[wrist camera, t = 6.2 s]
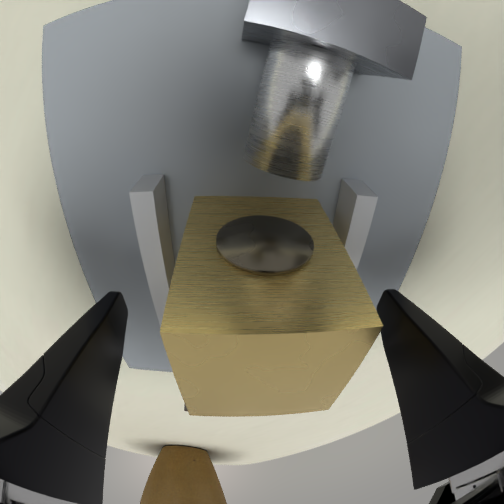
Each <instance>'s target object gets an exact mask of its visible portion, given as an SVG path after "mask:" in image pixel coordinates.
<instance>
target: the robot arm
mask: <svg viewBox="0 0 504 504" xmlns="http://www.w3.org/2000/svg"><path fill="white" fill-rule="evenodd" d="M376 310H377V313H378V315H379V318H380V320H381V322H382V324H383V328H382V329H381V336H382V341H383V345H384V350H385V353H386V357H387V360H388V364H389V367H390V371H391V375H392V378H393V382H394V386H395V390H396V394H397V398H398V402H399V407H400V411H401V416H402V420H403V425H404V430H405V435H406V440H407V446H408V452H409V458H410V465H411V471H412V478H413V486H414V489H419V488H422V487H425V486H428V485H431V484H433V483H436V482H439V481H442V480H444V479H447V478H449V482H447V483H445V484H444V485H442V486H440V487H438V488H437V489H436V491H435V493H434V495H433V497H432V499H431V501H430V503H429V504H504V377H503V376H502V375H500V374H499V373H498V372H497V371H495V370H494V369H493V368H492V367H490V366H489V365H488V364H486V363H485V362H484V361H483V360H481V359H480V358H479V357H477V356H476V355H475V354H474V353H473V352H472V351H470V350H469V349H468V348H467V347H466V346H465V345H463V344H462V343H461V342H460V341H459V340H458V339H456V338H455V337H454V336H453V335H452V334H450V333H449V332H448V331H447V330H446V329H444V328H443V327H442V326H441V325H440V324H438V323H437V322H436V321H435V320H434V319H432V318H431V317H430V316H429V315H427V314H426V313H425V312H424V311H422V310H421V309H420V308H419V307H417V306H416V305H415V304H414V303H412V302H411V301H410V300H409V299H407V298H406V297H405V296H403V295H402V294H401V293H400V292H398V291H397V290H395V289H386V290H384V291H383V293H382V296H381V298H380V300H379V302H378V304H377V309H376ZM127 319H128V308H127V305H126V303H125V300H124V297H123V294H122V293H121V292H119V291H110V292H108V293H107V294H106V295H105V296H104V297H103V298H101V299H100V300H99V301H98V302H97V303H96V304H95V305H94V306H93V307H92V308H91V309H89V310H88V311H87V312H86V313H85V314H84V315H83V316H82V317H81V318H80V319H79V320H78V321H77V322H76V323H75V324H74V325H72V326H71V327H70V328H69V329H68V330H67V331H66V332H65V333H64V334H63V335H62V336H61V337H60V338H59V339H58V340H57V341H56V342H55V343H54V344H53V345H52V346H51V347H50V348H49V349H48V350H47V351H46V352H45V353H44V356H43V355H42V356H41V357H40V358H39V359H38V360H37V361H36V362H35V363H34V364H33V365H32V366H31V367H30V368H29V369H28V370H27V371H26V372H25V373H24V374H23V375H22V376H21V377H20V378H19V379H18V380H17V381H16V382H14V383H13V384H12V385H11V386H10V387H9V388H8V389H7V390H6V391H5V392H3V393H2V394H1V395H0V504H102V500H103V483H104V470H105V457H106V448H107V440H108V433H109V426H110V419H111V413H112V406H113V401H114V395H115V390H116V385H117V379H118V375H119V370H120V365H121V361H122V356H123V349H124V341H125V333H126V326H127Z"/></svg>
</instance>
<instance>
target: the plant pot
mask: <svg viewBox="0 0 504 504" xmlns="http://www.w3.org/2000/svg"><path fill="white" fill-rule="evenodd" d="M140 504H227V503H226V500H225V497H224V494H223V491H222V488H221V485H220V482H219V480H218V477H217V474H216V472H215V469H214V467H213V464H212V462H211V460H210V457H209V455H208V453H207V451H205V450H202V449H198V448H193V447H186V446H164V447H163V448H162V450H161V452H160V454H159V456H158V457H157V459H156V462H155V464H154V466H153V468H152V470H151V473H150V475H149V477H148V481H147V483H146V486H145V489H144V491H143V495H142V498H141V502H140Z"/></svg>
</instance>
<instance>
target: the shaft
mask: <svg viewBox="0 0 504 504" xmlns="http://www.w3.org/2000/svg"><path fill="white" fill-rule="evenodd" d="M425 23H426V16H424V15H423V14H421V13H419V12H418V11H416V10H415V9H413V8H411V7H410V6H408V5H406V4H405V3H403V2H401V1H399V0H250V1H249V5H248V9H247V12H246V16H245V19H244V25H243V32H242V39H241V41H247V42H252V43H257V44H262V45H266V46H270V47H269V51H268V55H267V59H266V63H265V67H264V71H263V75H262V79H261V83H260V87H259V91H258V95H257V99H256V103H255V107H254V112H253V116H252V120H251V124H250V129H249V133H248V137H247V142H246V146H245V151H244V155H243V158H244V159H245V161H247V162H248V163H249V164H251V165H252V166H254V167H256V168H258V169H260V170H263V171H265V172H268V173H271V174H274V175H277V176H281V177H284V178H289V179H294V180H300V181H317V180H319V179H320V178H321V176H322V173H323V170H324V167H325V164H326V161H327V158H328V154H329V151H330V148H331V145H332V142H333V139H334V136H335V133H336V129H337V126H338V123H339V120H340V116H341V113H342V110H343V107H344V103H345V100H346V96H347V93H348V90H349V86H350V83H351V79H352V76H353V72H354V73H356V74H359V75H370V76H381V77H390V78H398V79H405V80H412V78H413V74H414V70H415V67H416V63H417V59H418V55H419V50H420V46H421V42H422V37H423V33H424V28H425Z"/></svg>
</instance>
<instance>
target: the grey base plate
mask: <svg viewBox="0 0 504 504" xmlns="http://www.w3.org/2000/svg"><path fill="white" fill-rule="evenodd" d="M249 1H250V0H112V1H108V2H105V3H102V4H98V5H95V6H92V7H89V8H86V9H83V10H80V11H78V12H75V13H72V14H70V15H67V16H64V17H62V18H60V19H57V20H55V21H53V22H50V23H48V24H46V25H44V26H43V42H42V84H43V101H44V112H45V121H46V130H47V137H48V143H49V150H50V155H51V161H52V166H53V171H54V176H55V180H56V185H57V189H58V193H59V197H60V201H61V205H62V209H63V212H64V216H65V219H66V223H67V226H68V229H69V232H70V235H71V239H72V242H73V245H74V248H75V250H76V253H77V256H78V259H79V262H80V264H81V267H82V270H83V272H84V275H85V277H86V280H87V282H88V285H89V287H90V290H91V292H92V294H93V297H94V299H95V301H96V303H97V302H98V301H99V300H100V299H101V298H103V297H104V296H105V295H106V294H107V293H108V292H110V291H119V292H121V293H122V294H123V297H124V300H125V303H126V305H127V308H128V319H127V326H126V333H125V341H124V349H123V358H124V359H125V361H126V363H127V365H128V366H129V368H134V369H144V370H154V371H167V372H173V371H172V368H171V365H170V362H169V359H168V356H167V353H166V350H165V347H164V344H163V341H162V338H161V335H160V328H161V323H162V319H163V314H164V310H165V305H166V301H167V297H168V292H169V288H170V284H171V280H172V276H173V272H174V268H175V264H176V260H177V256H178V252H179V249H180V245H181V241H182V238H183V234H184V230H185V227H186V223H187V220H188V217H189V213H190V210H191V206H192V203H193V200H194V197H195V196H252V197H282V198H304V199H318V201H319V203H320V204H321V206H322V208H323V210H324V211H325V213H326V215H327V216H328V218H329V220H330V222H331V224H332V225H333V227H334V229H335V231H336V232H337V234H338V236H339V238H340V240H341V242H342V243H343V245H344V247H345V249H346V251H347V253H348V255H349V257H350V258H351V260H352V262H353V264H354V266H355V268H356V270H357V272H358V274H359V276H360V278H361V280H362V282H363V284H364V286H365V288H366V290H367V292H368V294H369V296H370V298H371V300H372V303H373V305H374V307H375V309H377V304H378V302H379V300H380V298H381V296H382V293H383V291H384V290H386V289H395V290H397V291H398V290H399V288H400V286H401V284H402V282H403V279H404V277H405V275H406V273H407V270H408V268H409V266H410V264H411V261H412V259H413V256H414V254H415V252H416V249H417V247H418V244H419V241H420V239H421V236H422V234H423V231H424V228H425V225H426V223H427V220H428V217H429V214H430V211H431V208H432V205H433V202H434V199H435V196H436V192H437V189H438V186H439V182H440V179H441V175H442V171H443V168H444V164H445V160H446V156H447V151H448V147H449V142H450V138H451V133H452V128H453V122H454V117H455V111H456V104H457V97H458V89H459V80H460V69H461V53H462V46H460V45H458V44H456V43H455V42H453V41H451V40H449V39H447V38H445V37H444V36H442V35H440V34H438V33H436V32H434V31H432V30H430V29H427V28H424V33H423V37H422V42H421V46H420V50H419V55H418V59H417V63H416V67H415V70H414V74H413V78H412V80H405V79H398V78H390V77H381V76H370V75H359V74H356V73H354V72H353V76H352V79H351V83H350V86H349V90H348V93H347V96H346V100H345V103H344V107H343V110H342V113H341V116H340V120H339V123H338V126H337V129H336V133H335V136H334V139H333V142H332V145H331V148H330V151H329V154H328V158H327V161H326V164H325V167H324V170H323V173H322V176H321V178H320V179H319V180H317V181H300V180H294V179H289V178H284V177H281V176H277V175H274V174H271V173H268V172H265V171H263V170H260V169H258V168H256V167H254V166H252V165H251V164H249V163H248V162H247V161H245V159H244V158H243V155H244V151H245V146H246V142H247V137H248V133H249V129H250V124H251V120H252V116H253V112H254V107H255V103H256V99H257V95H258V91H259V87H260V83H261V79H262V75H263V71H264V67H265V63H266V59H267V55H268V51H269V47H270V46H266V45H262V44H257V43H252V42H247V41H241V39H242V32H243V25H244V19H245V16H246V12H247V9H248V5H249ZM376 311H377V310H376Z"/></svg>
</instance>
